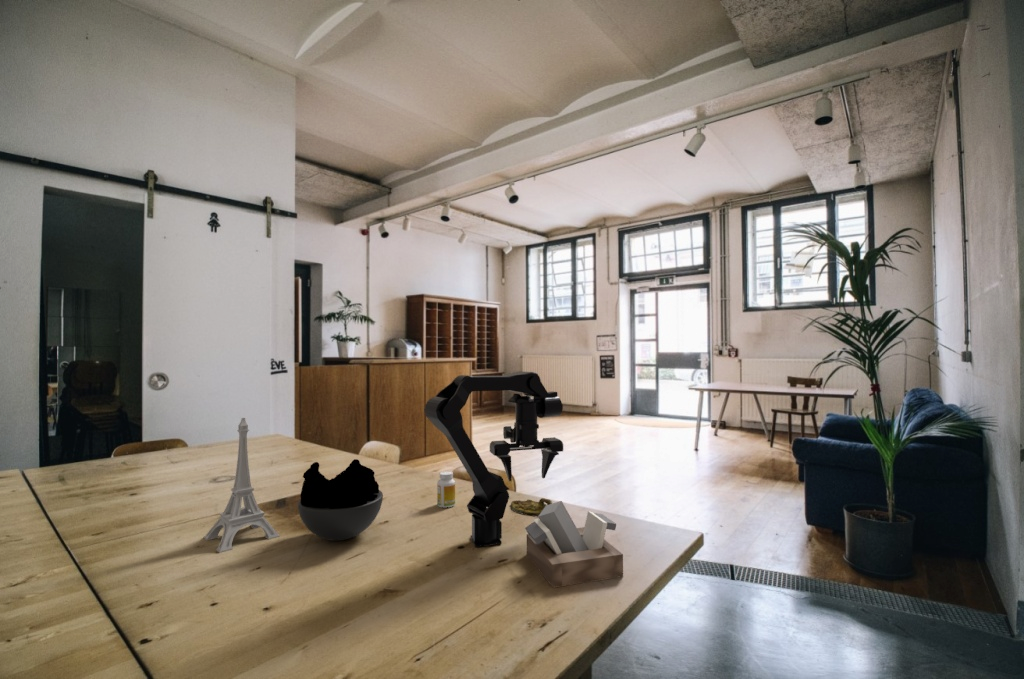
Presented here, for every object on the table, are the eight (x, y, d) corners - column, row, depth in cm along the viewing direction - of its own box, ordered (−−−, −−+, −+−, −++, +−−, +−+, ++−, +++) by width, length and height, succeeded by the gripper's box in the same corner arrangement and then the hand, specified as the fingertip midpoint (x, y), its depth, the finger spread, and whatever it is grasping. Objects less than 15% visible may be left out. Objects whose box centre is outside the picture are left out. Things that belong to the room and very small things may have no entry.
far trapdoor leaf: (601, 513, 108) (588, 511, 108) (617, 524, 101) (603, 522, 100) (592, 554, 108) (578, 552, 107) (608, 568, 100) (593, 566, 100)
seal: (502, 514, 138) (546, 523, 130) (501, 498, 138) (545, 506, 130) (519, 501, 146) (562, 510, 138) (518, 487, 146) (561, 494, 138)
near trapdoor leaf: (535, 539, 96) (549, 530, 97) (524, 527, 103) (537, 518, 104) (555, 577, 97) (569, 567, 98) (543, 562, 104) (556, 553, 105)
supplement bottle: (458, 503, 144) (458, 471, 144) (450, 509, 139) (450, 475, 139) (442, 501, 146) (442, 470, 146) (434, 507, 141) (434, 474, 141)
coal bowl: (399, 530, 122) (399, 457, 123) (341, 561, 104) (342, 475, 105) (341, 518, 131) (341, 451, 131) (278, 545, 113) (279, 466, 113)
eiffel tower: (203, 538, 118) (205, 418, 119) (260, 523, 128) (261, 413, 129) (219, 553, 109) (221, 423, 110) (279, 536, 119) (280, 417, 119)
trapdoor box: (552, 587, 92) (552, 564, 92) (526, 554, 107) (526, 534, 108) (623, 576, 97) (622, 554, 97) (588, 545, 112) (588, 526, 112)
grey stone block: (564, 565, 102) (537, 516, 102) (571, 552, 106) (545, 505, 106) (581, 561, 100) (553, 511, 100) (588, 548, 103) (561, 500, 104)
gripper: (548, 414, 133) (548, 469, 133) (484, 417, 128) (484, 474, 128) (564, 419, 123) (564, 479, 122) (494, 422, 117) (495, 485, 117)
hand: (526, 479), depth 123 cm, fingers open, 9 cm apart
